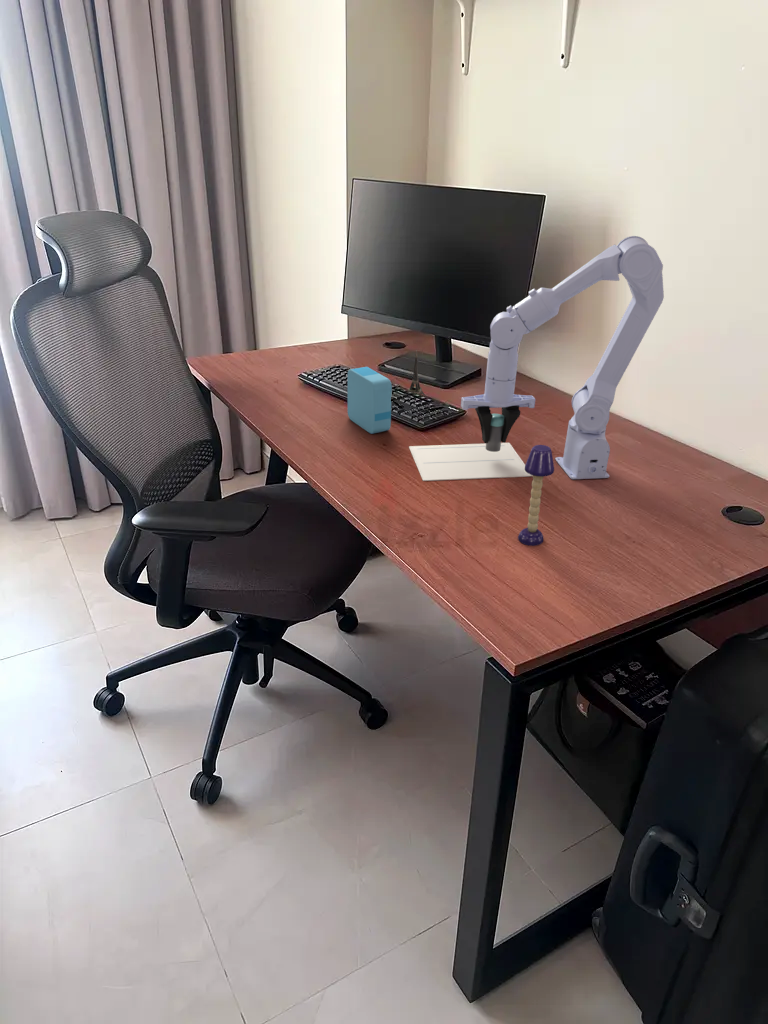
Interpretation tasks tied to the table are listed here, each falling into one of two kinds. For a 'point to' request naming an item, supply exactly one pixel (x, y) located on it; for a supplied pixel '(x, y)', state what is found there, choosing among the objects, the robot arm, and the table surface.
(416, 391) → the eiffel tower figurine
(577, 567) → the table surface
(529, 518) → the toy lamp
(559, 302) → the robot arm
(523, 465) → the paper
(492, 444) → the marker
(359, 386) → the light blue block
